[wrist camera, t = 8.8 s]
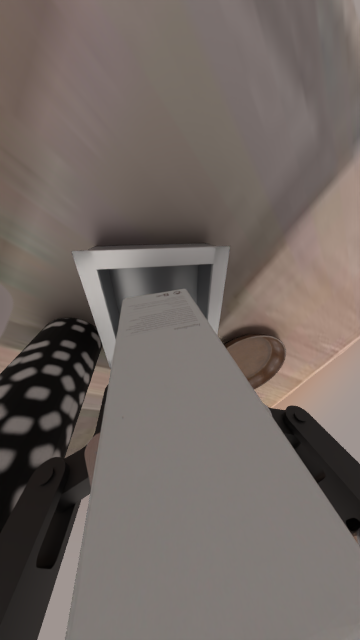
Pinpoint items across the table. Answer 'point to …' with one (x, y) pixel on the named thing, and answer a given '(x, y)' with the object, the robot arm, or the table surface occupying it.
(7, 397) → the white-spotted black cylinder
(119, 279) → the bin
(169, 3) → the table surface
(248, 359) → the plant saucer
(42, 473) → the robot arm
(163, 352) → the skincare box
